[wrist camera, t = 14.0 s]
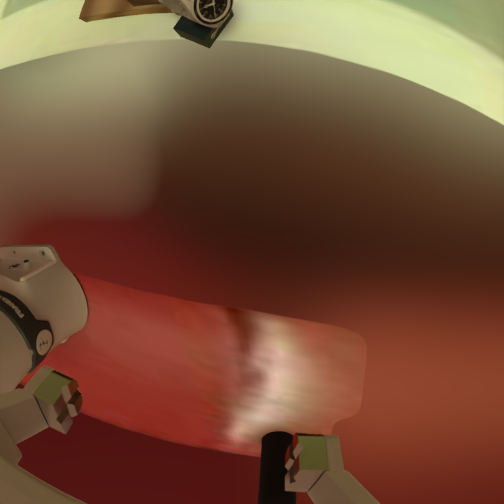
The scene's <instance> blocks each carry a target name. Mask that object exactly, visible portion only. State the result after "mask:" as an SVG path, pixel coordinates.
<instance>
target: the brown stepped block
mask: <svg viewBox="0 0 504 504" xmlns="http://www.w3.org/2000/svg"><path fill="white" fill-rule="evenodd" d="M127 1H128V2H129V3H130V4H131V5H133V6H143V5H154V4H161V3H160V2H159V1H158V0H127Z"/></svg>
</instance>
